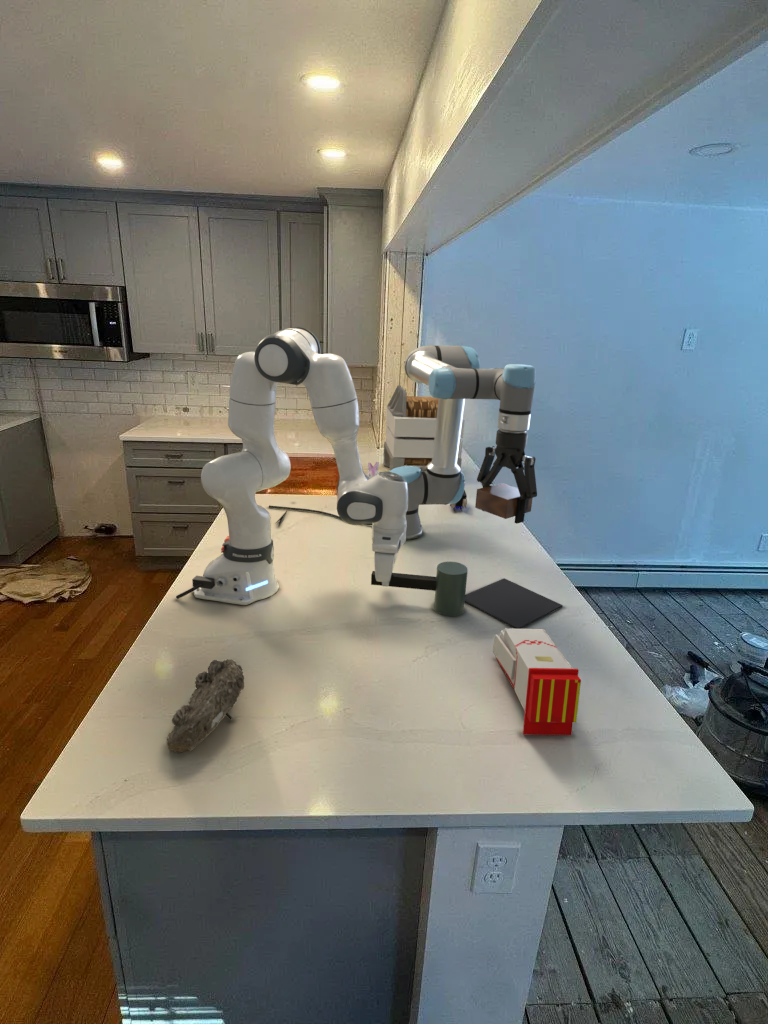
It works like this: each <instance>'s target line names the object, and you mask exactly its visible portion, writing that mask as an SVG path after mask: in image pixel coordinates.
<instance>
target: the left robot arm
mask: <svg viewBox="0 0 768 1024" xmlns="http://www.w3.org/2000/svg"><path fill="white" fill-rule="evenodd" d="M321 351H322V350H321V343H320V341H319V339H318V337H317V336H316V335H315V334H314V333H313V332H312V331H311V330H309V329H307V328H305V327H300V326H295V327H289V328H282V329H280V330H278V331H276V332H274V333H271V334H268V335H266V336H265V337H264V338H262V339H261V340H260V341H259V343H258V344H257V346H256V348H255V351H246V352H243V353H240V354H239V355H238V356H237V357H236V359H235V361H234V364H233V368H232V373H231V376H230V385H229V395H228V413H227V417H228V418H227V426H228V429H229V430H230V432H231V433H232V434H233V435H235V436H236V437H237V438H239V439H241V441H242V449H241V451H239V452H234V453H230V454H229V453H228V454H225V455H221V456H219V457H216V458H214V459H212V460H210V461H208V462H206V463H205V464H204V465H203V467H202V469H201V473H200V482H201V486H202V488H203V491H204V492H205V493H206V494H207V495H208V496H209V497H210V498H211V499H213V500H214V501H216V502H218V503H219V504H220V505H221V507H222V508H223V511H224V513H225V516H226V519H227V529H228V535H227V536H226V537H225V538H224V542H223V543H222V546H221V548H220V553H221V554H220V555H218V556H217V557H216V558H214V559H212V560H211V561H210V562H209V563H208V564H207V565H206V567H205V569H204V571H203V573H202V575H195V576H194V577H193V578H192V580H191V581H192V587H190V588H189V589H187V590H185V591H183V592H181V593H179V594H176V596H175V598H176V599H177V600H179V599H181V598H183V597H185V596H187V595H189V594H190V593H193V596H194V597H195V598H196V599H202V600H209V601H213V602H214V601H215V602H221V603H227V604H233V605H241V606H247V605H250V604H252V603H254V602H257V601H260V600H265V599H267V598H269V597H271V596H273V595H275V594H276V593H277V592H278V591H279V587H280V586H279V583H278V579H277V577H276V573H275V567H274V566H275V565H274V559H275V545H274V540H273V538H272V515H271V514H270V512H269V511H268V509H267V508H266V507H264V506H262V505H259V504H258V503H257V500H256V493H258V492H261V491H265V490H268V489H271V488H272V489H273V488H274V487H276V486H278V485H280V484H282V483H283V482H284V481H286V480H287V479H288V478H289V476H290V474H291V469H292V466H291V465H292V464H291V460H290V457H289V455H288V454H287V453H286V452H285V451H284V450H283V448H281V447H280V446H279V444H278V442H277V438H276V434H275V417H276V402H277V401H276V400H277V389H278V385H279V384H287V385H293V386H299V385H301V384H302V385H303V386H304V387H305V389H306V392H307V395H308V398H309V403H310V407H311V412H312V415H313V418H314V421H315V424H316V427H317V429H318V431H319V433H320V435H322V437H323V438H325V439H327V441H328V442H329V443H330V445H331V447H332V450H333V453H334V458H335V462H336V467H337V471H338V482H337V486H336V511H337V514H338V515H337V516H339V517H340V518H341V519H340V520H342V521H343V522H344V523H346V524H347V525H351V526H362V525H363V524H370V523H372V525H371V541H372V544H371V545H372V546H371V551H372V552H374V553H373V554H374V556H373V557H374V560H373V561H374V571H375V578H376V581H378V582H382V587H390V586H389V582H390V579H391V575H392V573H393V570H394V568H395V564H396V560H397V556H398V553H399V551H400V548H401V547H402V546H403V545H404V544H405V543H406V541H407V540H406V528H407V521H406V512H407V510H408V485H407V482H406V480H405V479H404V478H403V477H402V476H400V475H398V474H396V473H392V472H389V471H380V472H379V471H378V474H377V475H376V476H374V477H373V478H371V479H369V478H368V477H367V476H366V475H367V473H365V472H364V469H363V466H362V462H361V461H362V460H361V457H360V451H359V447H358V432H359V428H360V407H359V401H358V396H357V391H356V388H355V383H354V381H353V376H352V375H351V372H350V369H349V367H348V364H347V362H346V360H345V359H344V358H343V357H342V356H340V355H339V354H336V353H322V352H321Z"/></svg>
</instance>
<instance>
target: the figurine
mask: <svg viewBox="0 0 768 1024" xmlns="http://www.w3.org/2000/svg"><path fill="white" fill-rule="evenodd" d="M379 465H380V463H379V461H376V462H375V463H374V465H372V463H371V462H368V463H367V468H368V469H367V473H366V476H367V477H368V478H369V479H371V478H373V477H374V476H376V475H377V474H378V473H379V471H378V469H379Z"/></svg>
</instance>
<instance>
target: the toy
mask: <svg viewBox="0 0 768 1024" xmlns="http://www.w3.org/2000/svg"><path fill="white" fill-rule="evenodd" d="M499 632H500V633H499V634H496V633H495V635H494V641H493V649H492V653H493V654H494V655H495V657H496V658H495V659H496V660H497V662H498V663H499V665H500V668H501V670H502V671H503V672H504V674H505V676H506V678H507V680H508V681H509V683H510V685H511V686H512V688H513V689H514V693H515V694H516V696H517V698H518V701H519V702H520V704H521V706H522V708H523V711H524V719H523V728H522V734H523V735H524V736H525V735H527V736H572V733H573V725H574V723H577V718H578V711H579V702H580V694H581V693H580V692H581V686H582V685H581V684H582V679H581V677H580V676H579V671H580V670H579V669H578V668H573V667H572V665H571V664H570V663H569V662H568V660H567V659H566V657H565V656H564V654H562V652H561V650H560V649H559V648H558V646H557V645H556V644H555V643H554V641H553V640H552V639H551V637H550V636H549V634H548V633H547V631H546V630H545V629H544V628H521V629H515V628H512V627H509V628H508V627H507V628H506V627H505V628H504V629H501V630H500V631H499Z"/></svg>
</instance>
